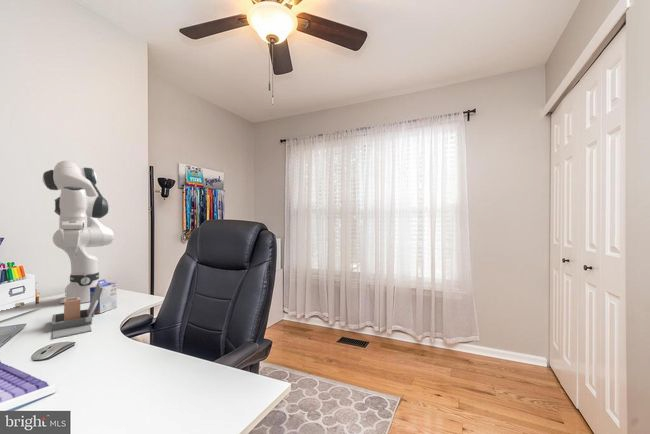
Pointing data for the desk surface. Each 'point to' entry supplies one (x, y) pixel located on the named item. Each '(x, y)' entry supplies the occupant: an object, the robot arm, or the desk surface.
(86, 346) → the desk surface
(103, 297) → the ink cartridge box
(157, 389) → the desk surface
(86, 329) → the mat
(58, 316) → the case
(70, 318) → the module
